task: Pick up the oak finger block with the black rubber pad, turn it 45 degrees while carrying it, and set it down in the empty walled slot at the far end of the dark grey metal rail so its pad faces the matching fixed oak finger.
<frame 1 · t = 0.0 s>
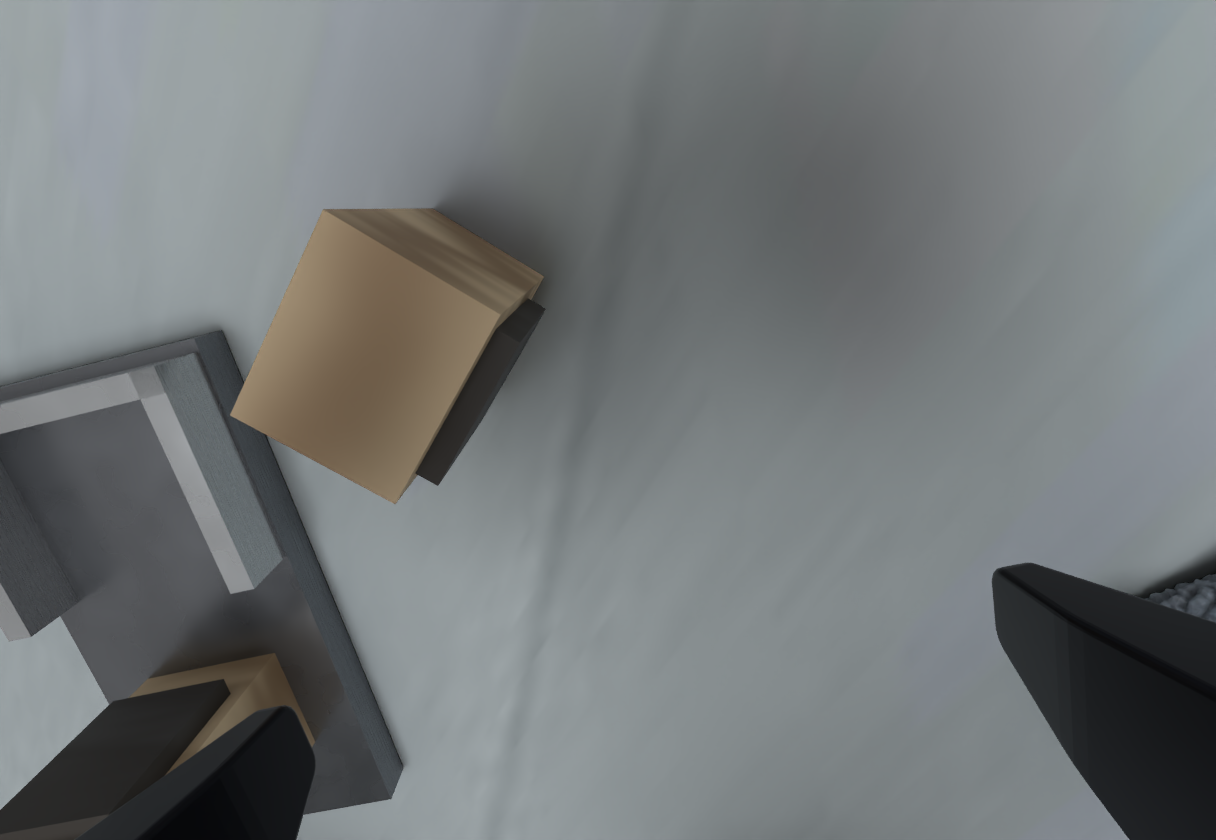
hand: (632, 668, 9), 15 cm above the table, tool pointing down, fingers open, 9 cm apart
rail: (212, 595, 25), on the table
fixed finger: (232, 710, 25), resting on rail
finger block: (452, 311, 22), on the table
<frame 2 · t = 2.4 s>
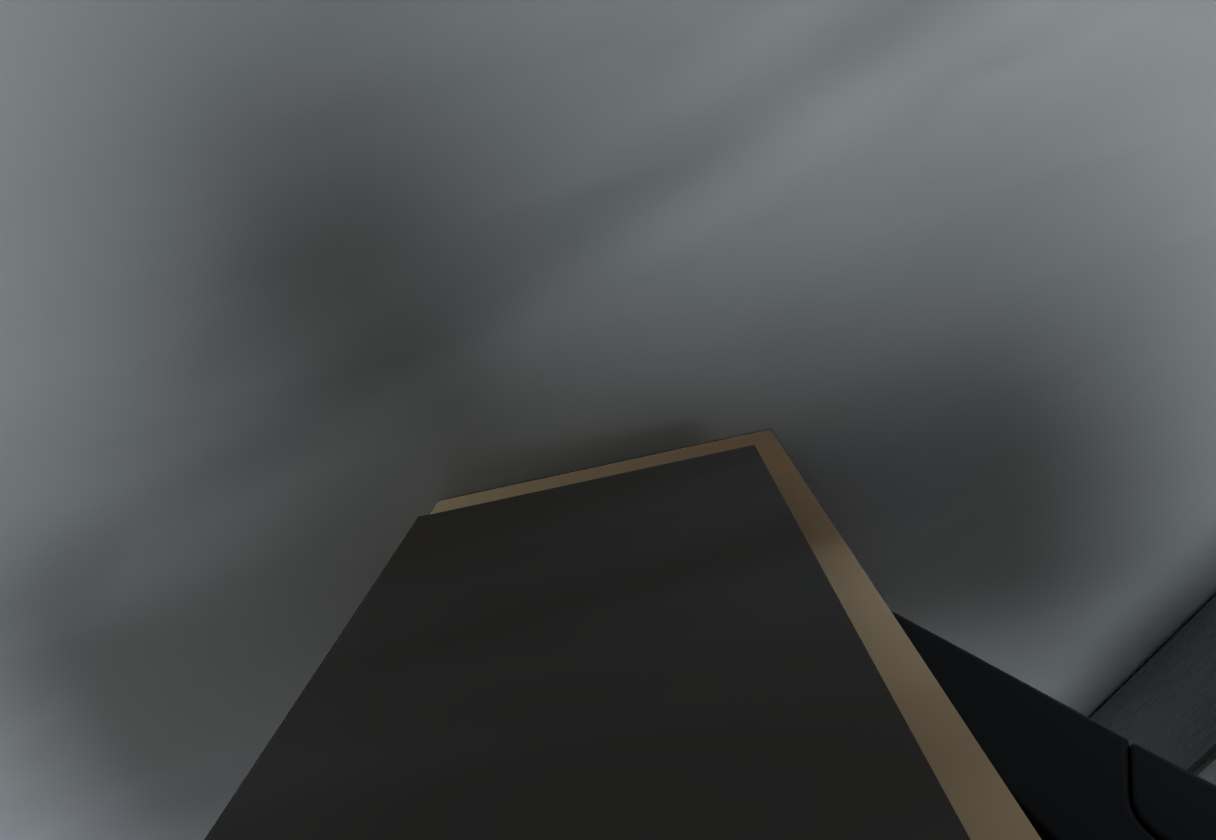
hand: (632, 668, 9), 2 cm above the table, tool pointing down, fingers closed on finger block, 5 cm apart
finger block: (631, 583, 10), on the table, touching gripper
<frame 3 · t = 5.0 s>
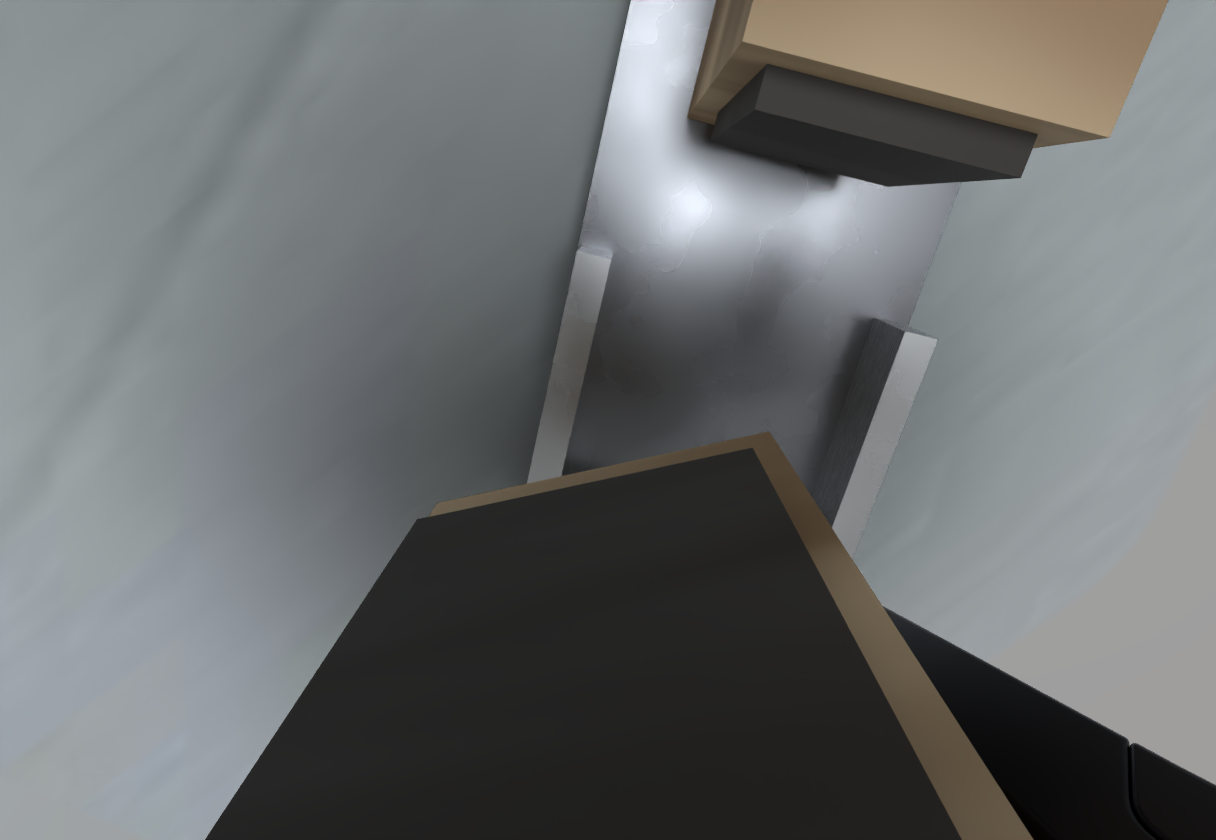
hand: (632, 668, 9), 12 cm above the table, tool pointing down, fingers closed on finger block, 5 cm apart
rail: (751, 225, 18), on the table
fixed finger: (813, 53, 16), resting on rail
finger block: (630, 585, 10), point 10 cm above the table, touching gripper
when the fingers open (5 cm above the table, at t = 7.3 s): finger block drops 1 cm, resting on rail.
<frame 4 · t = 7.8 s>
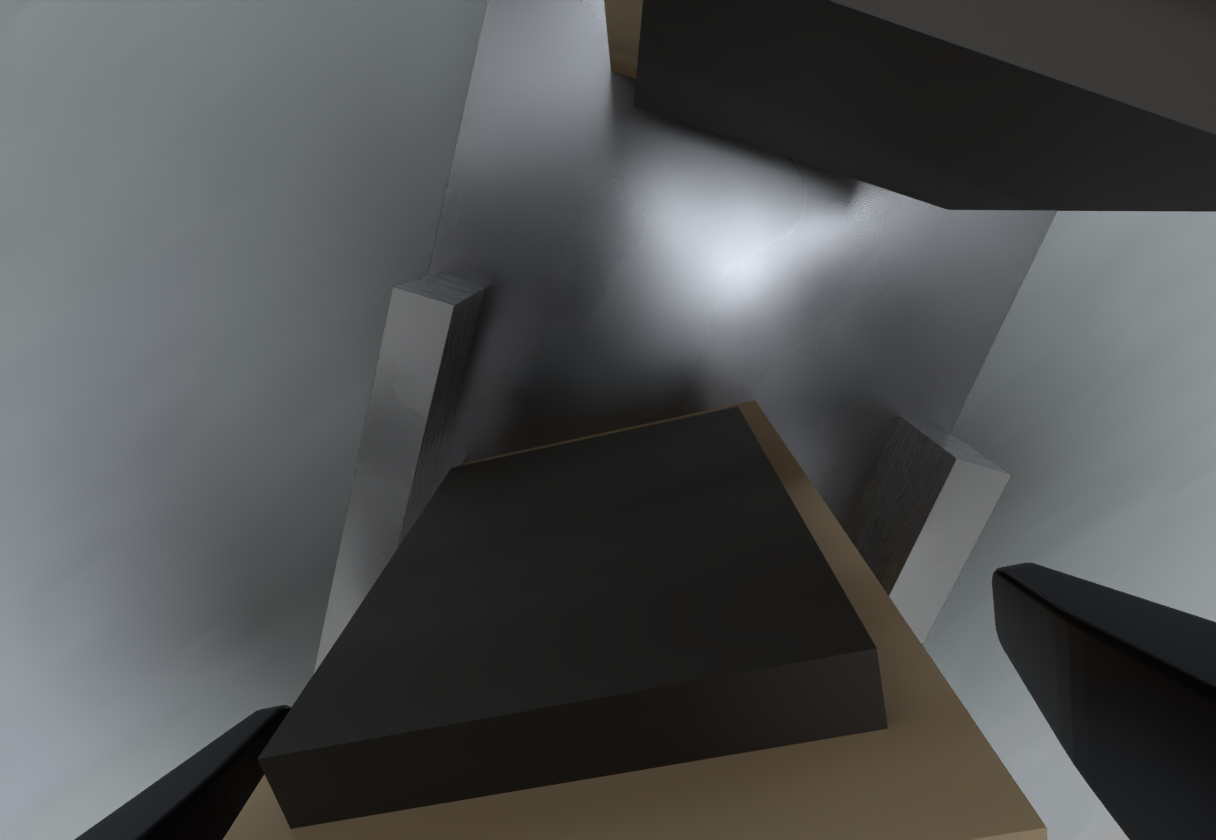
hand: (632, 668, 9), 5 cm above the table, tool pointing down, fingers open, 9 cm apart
rail: (716, 254, 12), on the table
finger block: (632, 538, 12), point 1 cm above the table, touching rail
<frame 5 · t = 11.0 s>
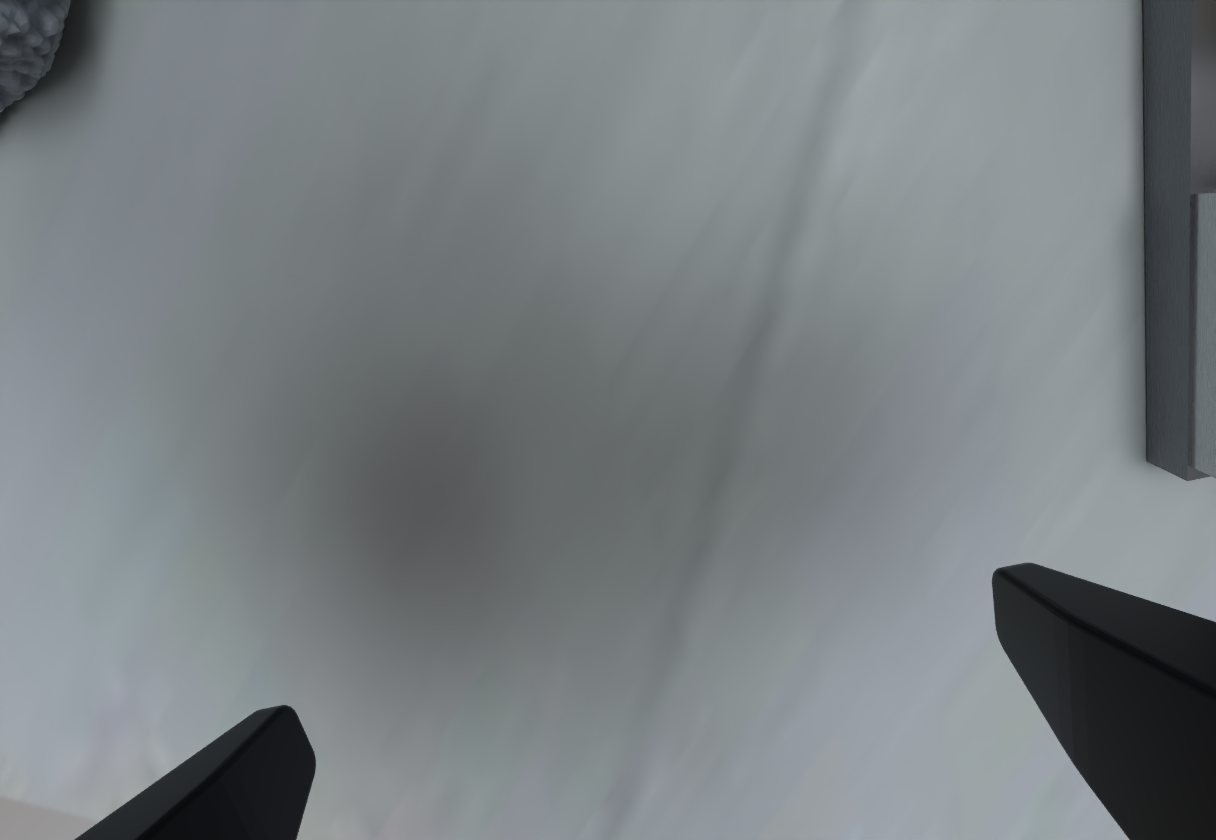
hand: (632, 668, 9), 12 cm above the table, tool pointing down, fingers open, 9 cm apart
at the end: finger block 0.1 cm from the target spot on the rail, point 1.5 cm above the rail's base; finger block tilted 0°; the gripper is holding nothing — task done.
